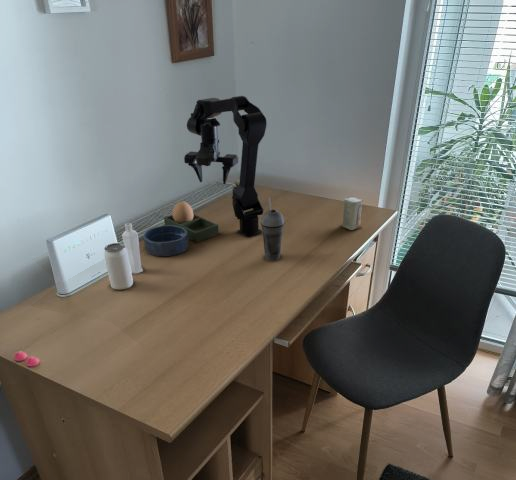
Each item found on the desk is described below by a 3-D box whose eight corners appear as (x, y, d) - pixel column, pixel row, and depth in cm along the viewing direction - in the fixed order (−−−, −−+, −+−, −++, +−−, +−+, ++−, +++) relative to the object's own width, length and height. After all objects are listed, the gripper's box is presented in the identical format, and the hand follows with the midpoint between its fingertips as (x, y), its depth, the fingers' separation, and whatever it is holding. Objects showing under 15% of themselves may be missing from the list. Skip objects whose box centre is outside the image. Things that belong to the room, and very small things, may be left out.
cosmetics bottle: (360, 227, 177) (363, 200, 171) (351, 230, 175) (353, 202, 169) (350, 223, 180) (352, 196, 175) (341, 226, 179) (343, 198, 173)
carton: (218, 234, 174) (218, 224, 172) (196, 242, 169) (195, 232, 167) (186, 219, 186) (186, 210, 184) (165, 226, 181) (163, 217, 178)
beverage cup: (284, 262, 156) (285, 200, 144) (261, 262, 156) (260, 200, 144) (283, 252, 162) (284, 191, 150) (261, 252, 162) (260, 192, 150)
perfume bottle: (147, 268, 154) (139, 222, 145) (138, 274, 151) (130, 228, 142) (135, 266, 156) (126, 220, 147) (126, 272, 152) (117, 225, 144)
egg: (185, 230, 176) (183, 207, 171) (169, 226, 179) (166, 203, 174) (198, 223, 181) (196, 200, 176) (182, 219, 184) (180, 197, 179)
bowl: (197, 247, 166) (195, 233, 163) (161, 261, 158) (159, 246, 155) (172, 235, 174) (170, 221, 171) (137, 247, 166) (135, 233, 164)
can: (137, 281, 147) (130, 244, 140) (126, 291, 142) (118, 253, 135) (118, 278, 149) (111, 241, 142) (106, 288, 144) (98, 250, 137)
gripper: (175, 142, 169) (180, 188, 179) (226, 145, 165) (229, 192, 174) (188, 134, 178) (192, 178, 187) (237, 137, 173) (239, 182, 182)
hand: (212, 183), depth 182 cm, fingers open, 9 cm apart
